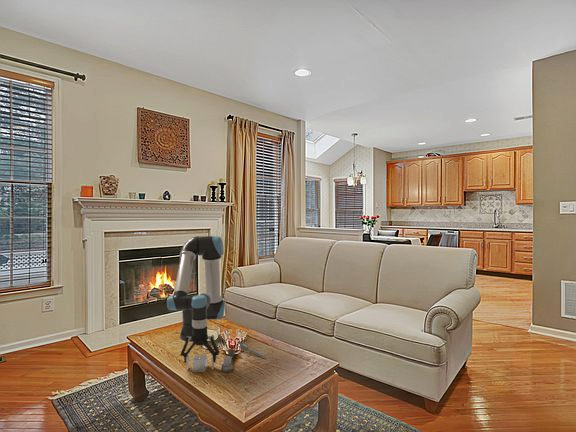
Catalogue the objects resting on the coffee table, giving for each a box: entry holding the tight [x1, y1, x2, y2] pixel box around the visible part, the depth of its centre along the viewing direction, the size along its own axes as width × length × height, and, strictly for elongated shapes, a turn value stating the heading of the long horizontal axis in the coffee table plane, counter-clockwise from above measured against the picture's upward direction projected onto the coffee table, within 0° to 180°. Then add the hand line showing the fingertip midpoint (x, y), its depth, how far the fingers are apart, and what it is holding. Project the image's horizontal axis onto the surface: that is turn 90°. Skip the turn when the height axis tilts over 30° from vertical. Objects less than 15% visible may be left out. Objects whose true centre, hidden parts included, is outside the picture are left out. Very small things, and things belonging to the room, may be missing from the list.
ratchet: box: [221, 349, 236, 374], centre depth 181 cm, size 22×6×6 cm, turn 2°
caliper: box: [238, 340, 268, 360], centre depth 191 cm, size 20×1×6 cm, turn 58°
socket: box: [192, 354, 209, 373], centre depth 174 cm, size 6×6×6 cm
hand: (200, 368), depth 174 cm, fingers open, 12 cm apart
